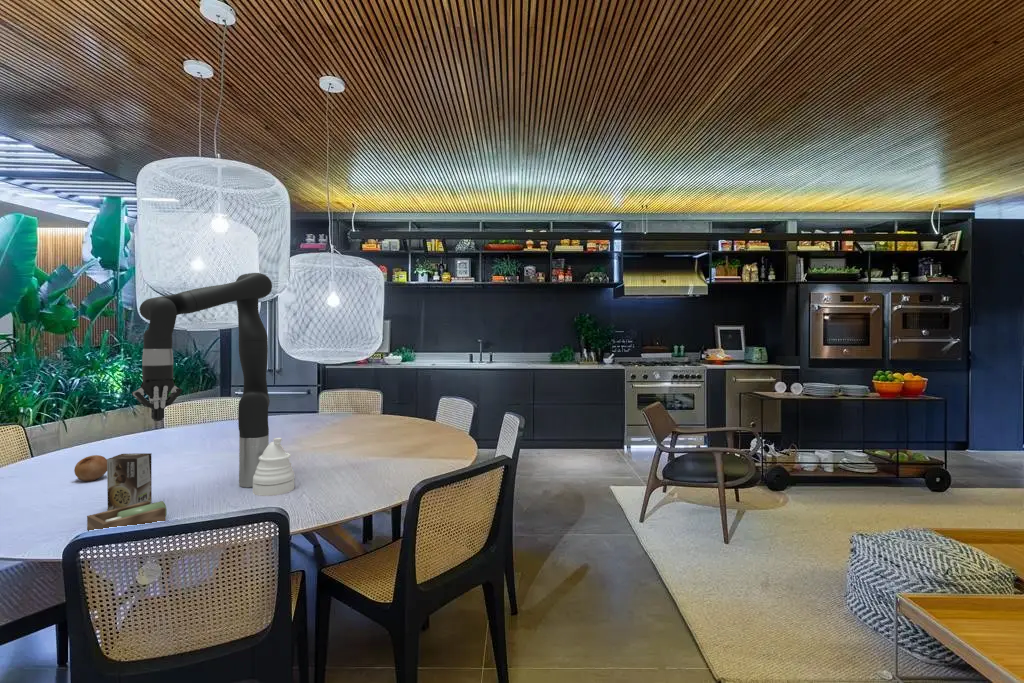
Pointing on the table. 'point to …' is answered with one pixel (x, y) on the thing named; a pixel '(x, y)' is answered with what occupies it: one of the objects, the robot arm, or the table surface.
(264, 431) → the robot arm
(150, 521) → the u rest
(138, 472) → the coffee box
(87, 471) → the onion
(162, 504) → the bottle
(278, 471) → the honey pot
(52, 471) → the table surface
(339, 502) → the table surface
